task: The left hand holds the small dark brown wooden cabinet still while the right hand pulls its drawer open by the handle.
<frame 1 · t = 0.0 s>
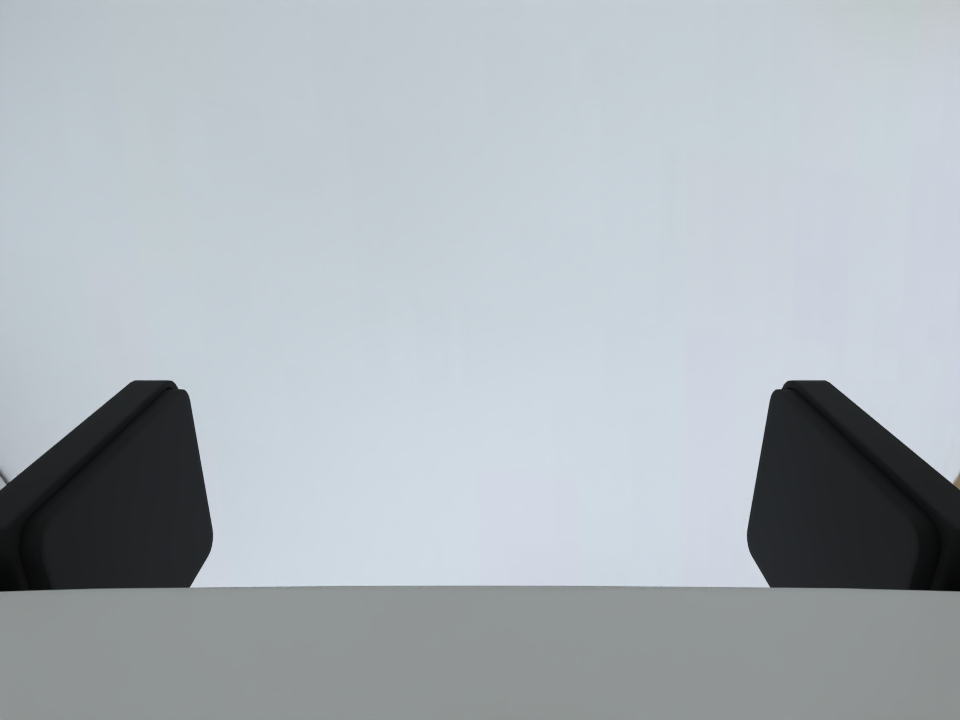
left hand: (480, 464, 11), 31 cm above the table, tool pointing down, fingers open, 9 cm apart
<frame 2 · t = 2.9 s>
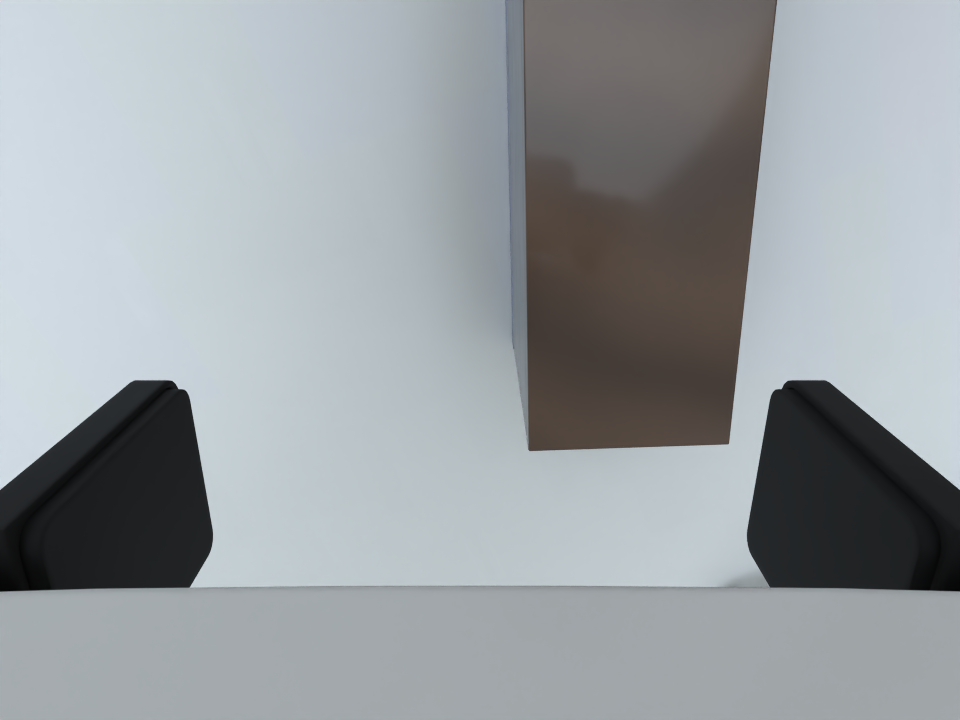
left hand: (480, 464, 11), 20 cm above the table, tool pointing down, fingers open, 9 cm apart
cabinet: (585, 124, 28), on the table
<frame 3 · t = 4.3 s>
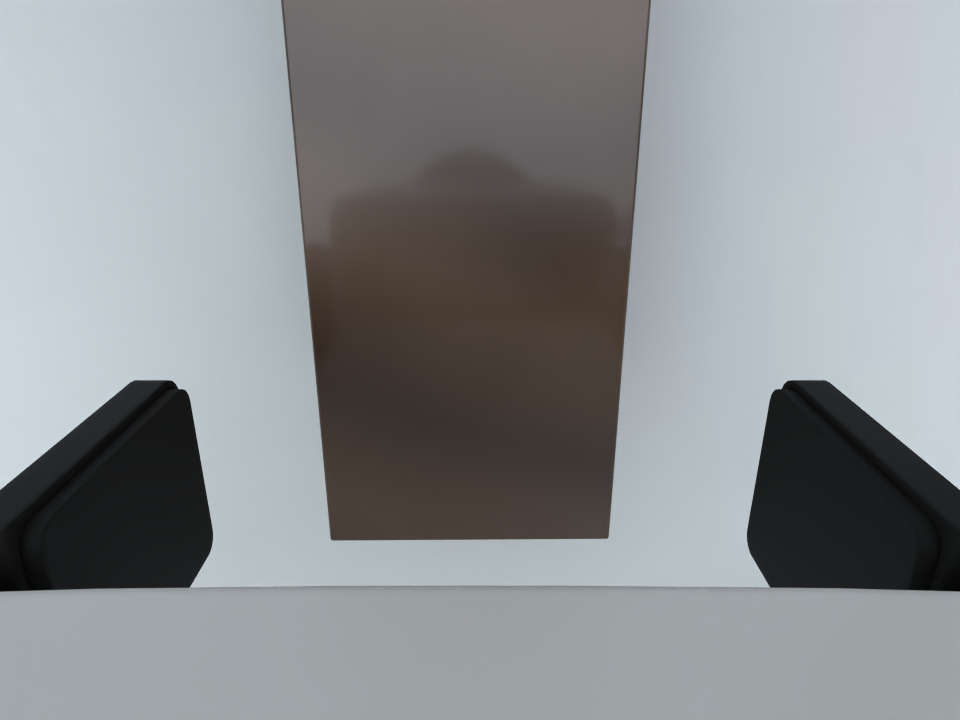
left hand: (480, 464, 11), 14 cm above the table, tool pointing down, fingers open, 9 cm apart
cabinet: (469, 104, 22), on the table
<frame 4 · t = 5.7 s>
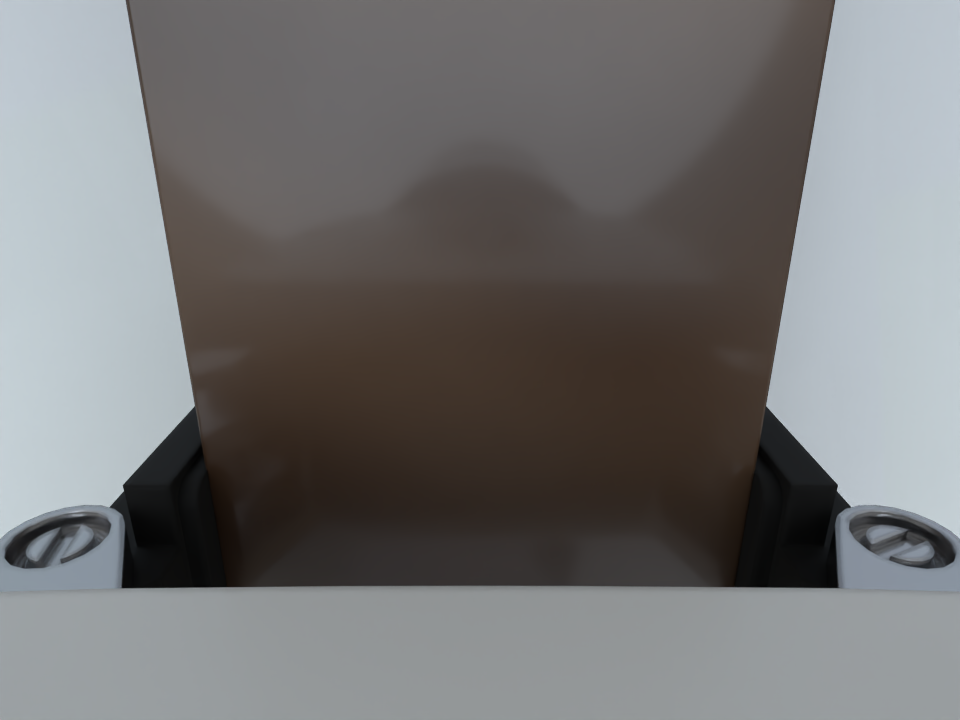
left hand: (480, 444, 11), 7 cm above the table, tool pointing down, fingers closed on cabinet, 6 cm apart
cabinet: (481, 79, 16), on the table, touching left hand
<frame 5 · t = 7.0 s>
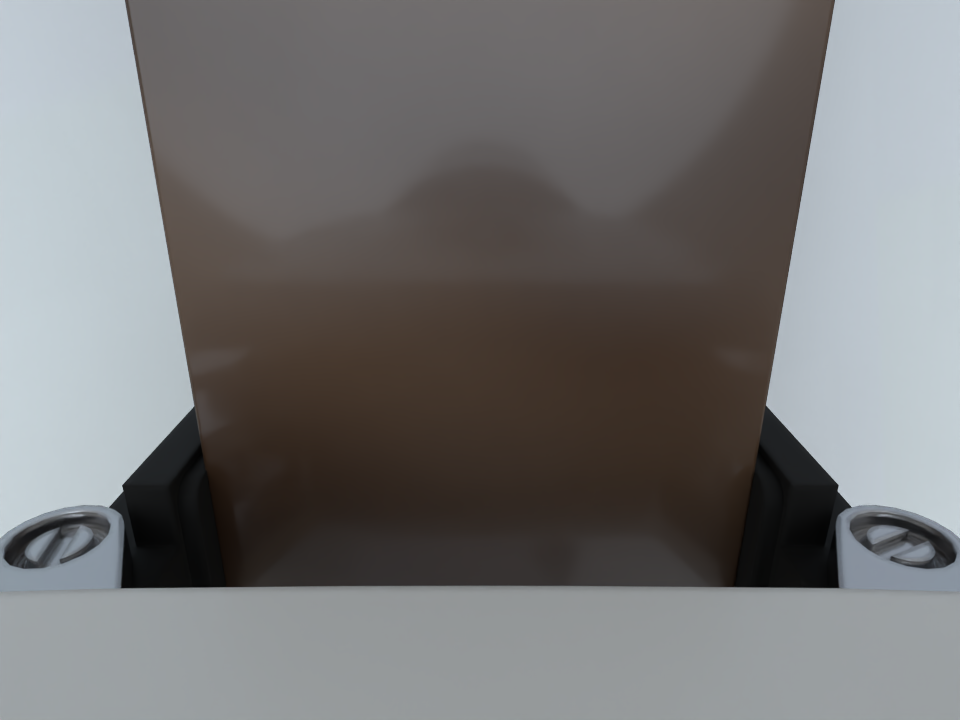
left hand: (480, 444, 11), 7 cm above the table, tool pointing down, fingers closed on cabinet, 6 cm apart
cabinet: (481, 79, 16), on the table, touching left hand
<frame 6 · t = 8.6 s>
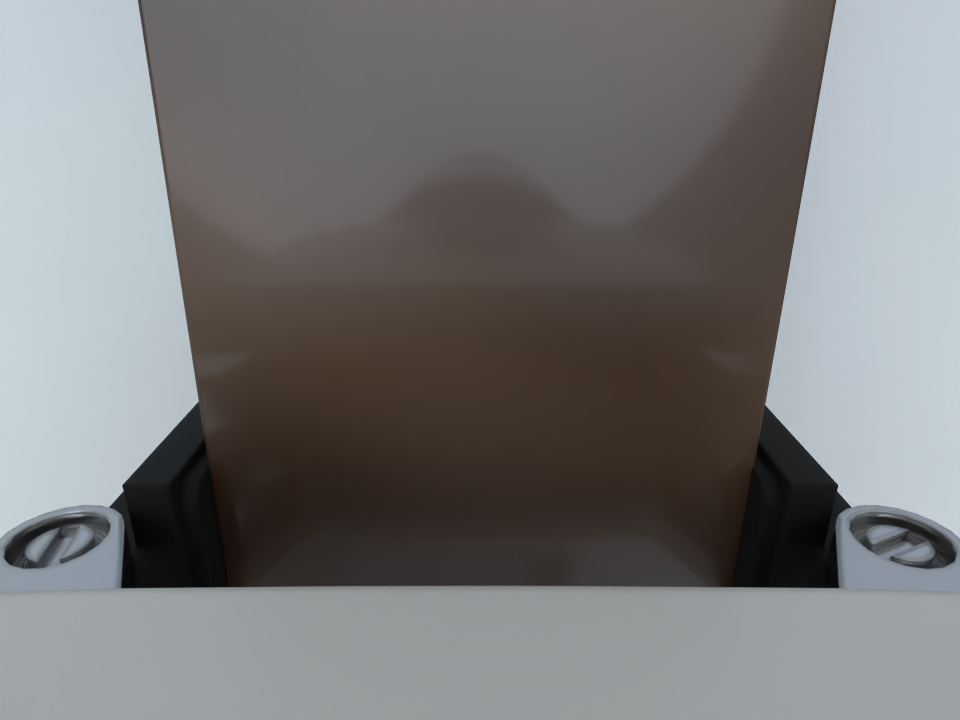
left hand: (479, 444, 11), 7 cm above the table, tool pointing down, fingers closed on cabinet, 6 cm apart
cabinet: (481, 84, 16), on the table, touching left hand
when the left hand's fingers open (7 cm above the table, at t = 10.4 s): cabinet stays where it is, on the table.
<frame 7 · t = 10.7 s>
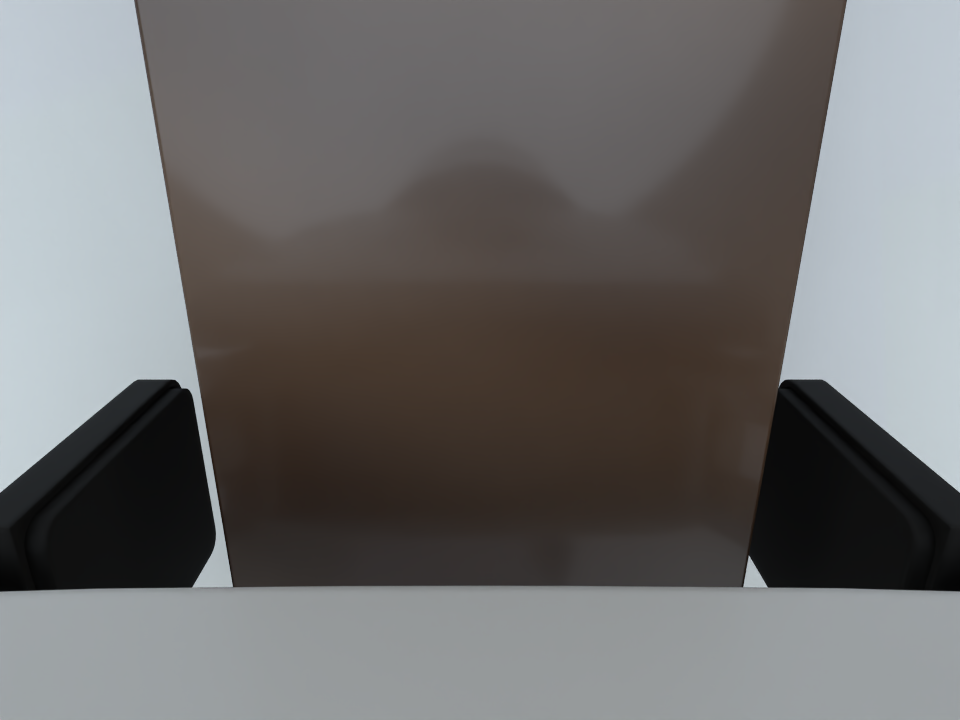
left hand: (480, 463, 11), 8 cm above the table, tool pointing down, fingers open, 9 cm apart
cabinet: (484, 67, 16), on the table
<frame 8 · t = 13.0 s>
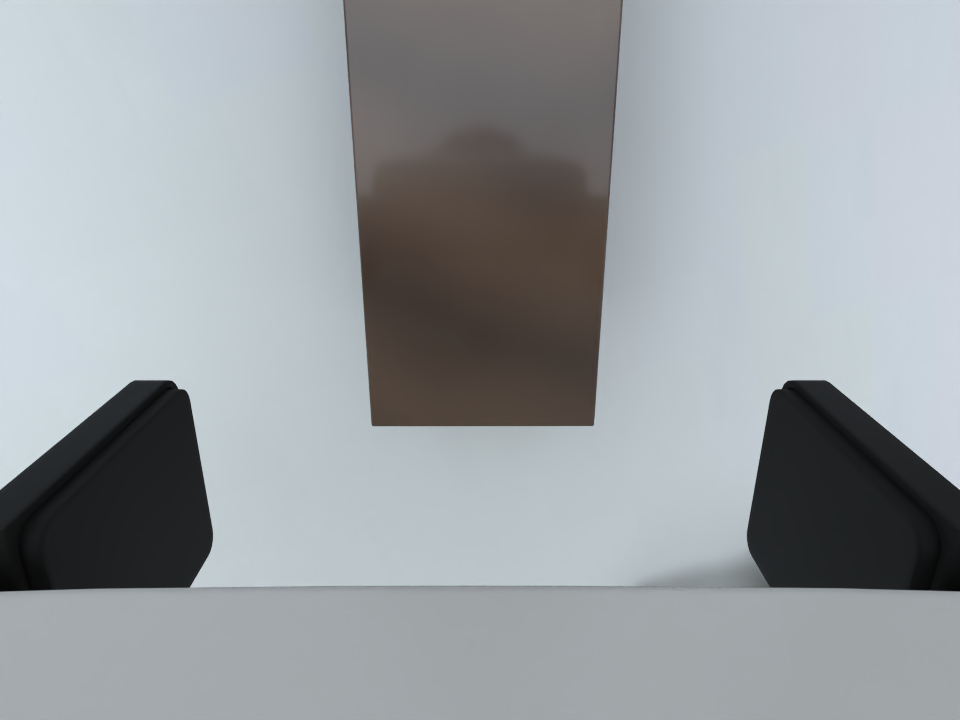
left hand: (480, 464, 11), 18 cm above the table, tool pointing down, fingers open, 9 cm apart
cabinet: (481, 79, 26), on the table
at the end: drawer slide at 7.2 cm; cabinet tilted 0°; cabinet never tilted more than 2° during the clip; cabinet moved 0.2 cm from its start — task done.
